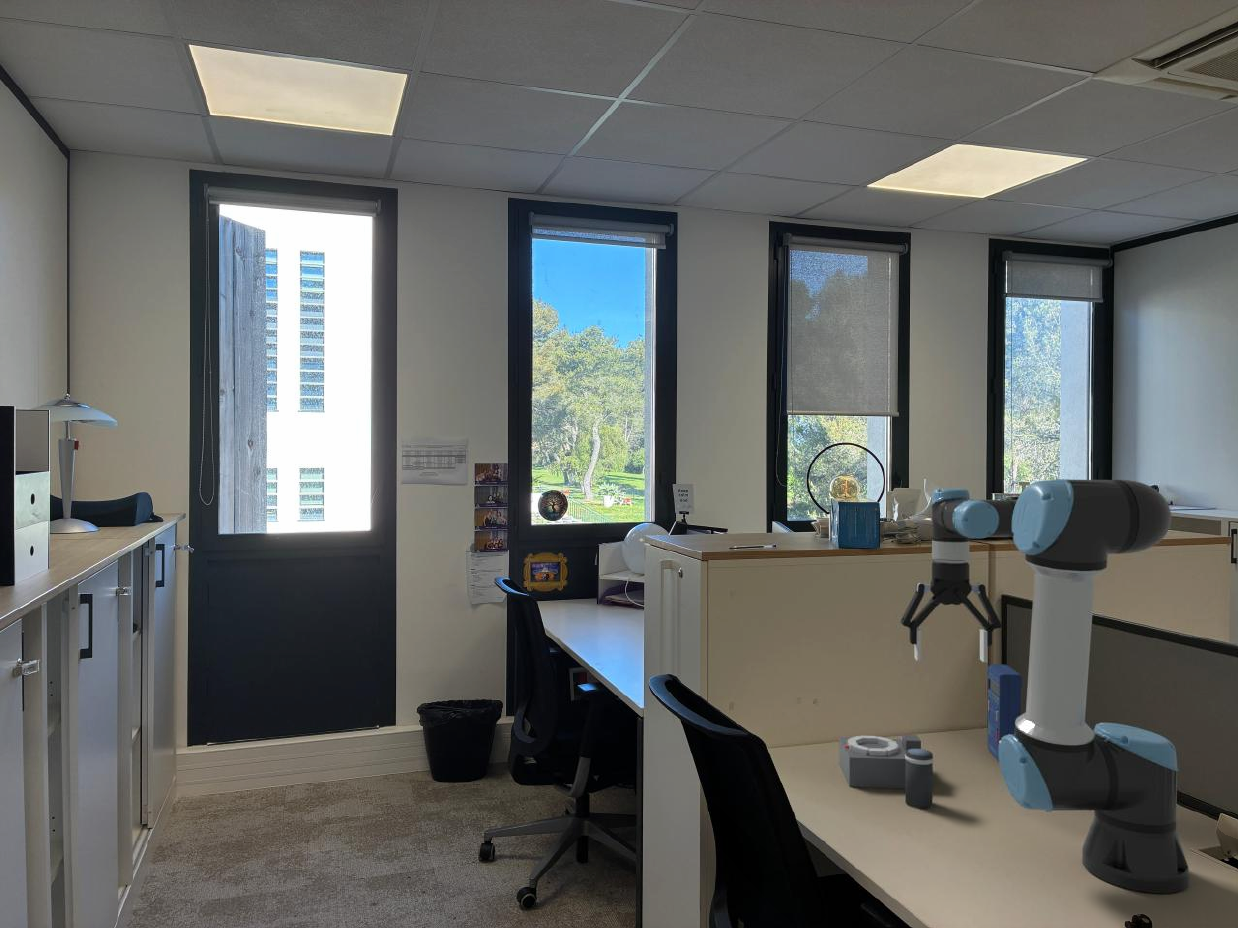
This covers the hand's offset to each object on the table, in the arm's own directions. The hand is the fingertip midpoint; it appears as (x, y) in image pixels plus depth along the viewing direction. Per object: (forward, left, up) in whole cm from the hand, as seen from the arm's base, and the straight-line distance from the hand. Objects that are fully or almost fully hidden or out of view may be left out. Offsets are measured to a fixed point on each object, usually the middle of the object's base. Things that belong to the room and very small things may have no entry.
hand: (950, 660), depth 188 cm
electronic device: (+13, -15, -25) cm, 32 cm away
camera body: (-2, +15, -25) cm, 29 cm away
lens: (-16, +11, -25) cm, 31 cm away
